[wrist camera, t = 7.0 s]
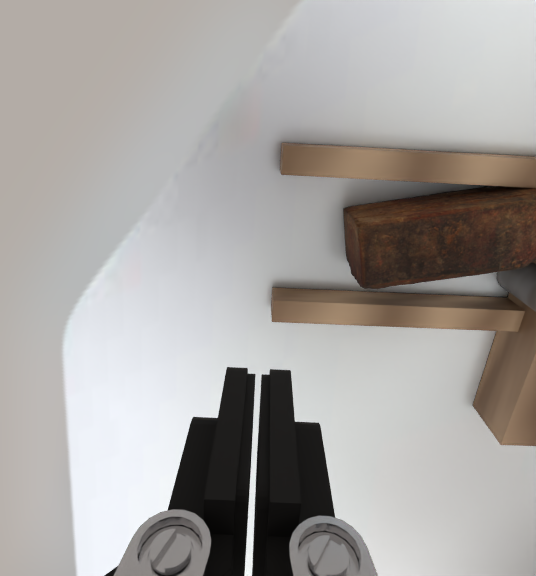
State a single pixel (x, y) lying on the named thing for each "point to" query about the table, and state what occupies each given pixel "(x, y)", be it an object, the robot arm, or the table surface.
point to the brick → (441, 236)
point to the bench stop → (430, 307)
